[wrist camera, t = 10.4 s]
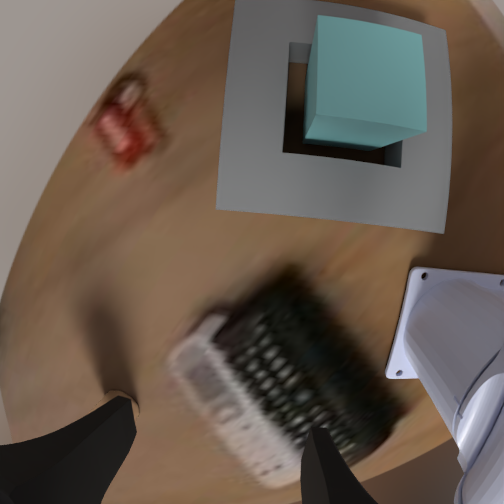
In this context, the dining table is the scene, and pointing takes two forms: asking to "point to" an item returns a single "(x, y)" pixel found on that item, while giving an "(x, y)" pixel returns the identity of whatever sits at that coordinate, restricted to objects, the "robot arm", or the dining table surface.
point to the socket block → (316, 167)
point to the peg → (363, 85)
